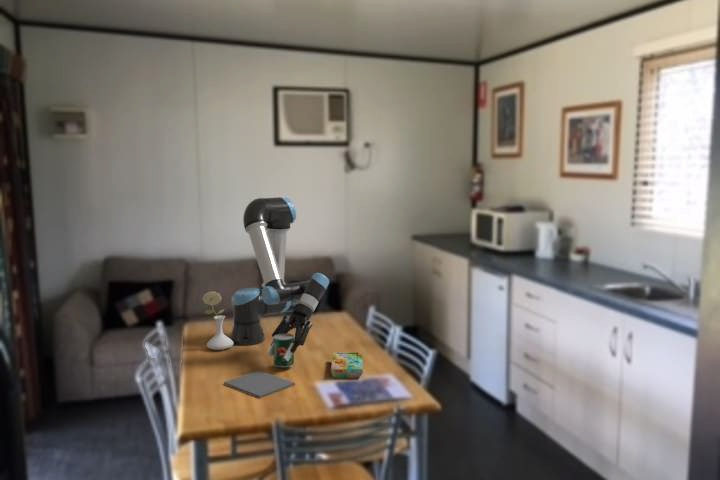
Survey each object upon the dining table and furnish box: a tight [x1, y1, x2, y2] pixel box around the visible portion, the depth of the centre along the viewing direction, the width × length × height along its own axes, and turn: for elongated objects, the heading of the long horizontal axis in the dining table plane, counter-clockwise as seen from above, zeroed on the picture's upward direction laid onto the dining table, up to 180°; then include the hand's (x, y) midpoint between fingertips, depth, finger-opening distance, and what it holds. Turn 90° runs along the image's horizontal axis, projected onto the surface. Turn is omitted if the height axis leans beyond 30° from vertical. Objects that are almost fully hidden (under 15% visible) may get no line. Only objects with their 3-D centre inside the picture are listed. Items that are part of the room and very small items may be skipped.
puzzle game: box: [330, 351, 364, 379], centre depth 224 cm, size 12×5×20 cm
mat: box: [223, 370, 296, 399], centre depth 208 cm, size 20×16×1 cm
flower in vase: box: [201, 290, 235, 351], centre depth 250 cm, size 13×11×25 cm
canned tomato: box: [272, 333, 295, 368], centre depth 225 cm, size 8×8×11 cm
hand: (277, 356), depth 223 cm, fingers closed on canned tomato, 8 cm apart
